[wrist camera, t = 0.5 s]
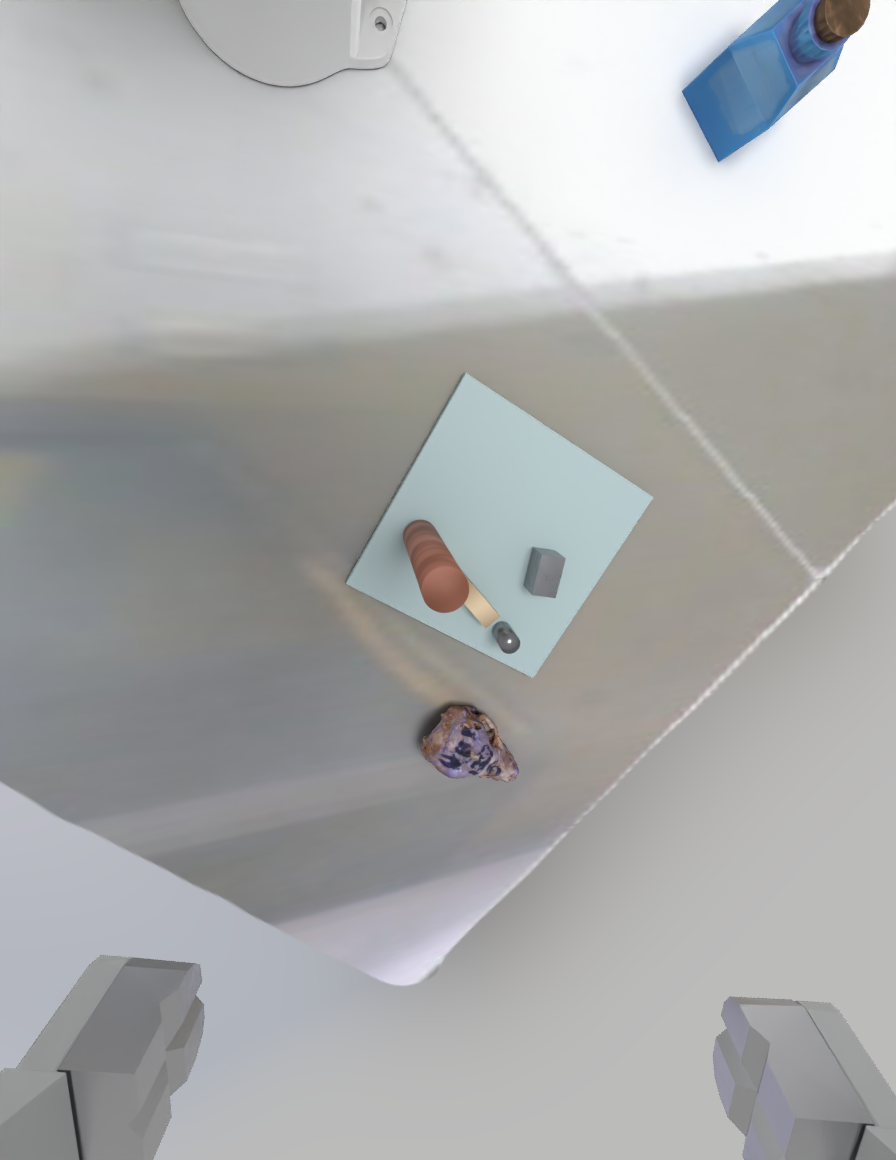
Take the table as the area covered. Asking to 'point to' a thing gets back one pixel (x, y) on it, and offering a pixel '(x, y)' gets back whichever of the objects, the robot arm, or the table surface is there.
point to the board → (501, 522)
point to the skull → (468, 747)
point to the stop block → (544, 572)
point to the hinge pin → (505, 637)
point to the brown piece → (443, 574)
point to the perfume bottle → (771, 69)
